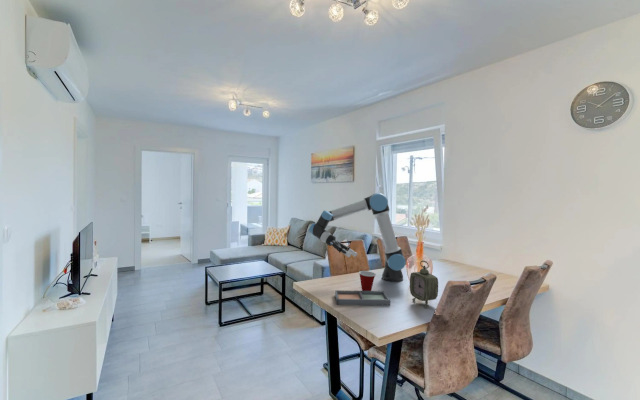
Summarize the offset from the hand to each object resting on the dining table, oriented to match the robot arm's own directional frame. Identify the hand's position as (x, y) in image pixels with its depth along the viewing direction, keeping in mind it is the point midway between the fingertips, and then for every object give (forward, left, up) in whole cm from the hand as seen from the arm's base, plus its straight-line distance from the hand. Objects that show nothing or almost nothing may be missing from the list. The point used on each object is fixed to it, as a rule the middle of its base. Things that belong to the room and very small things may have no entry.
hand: (353, 255), depth 203 cm
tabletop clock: (-37, +30, -21) cm, 52 cm away
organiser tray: (-2, +25, -21) cm, 32 cm away
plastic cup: (-8, +9, -21) cm, 24 cm away
